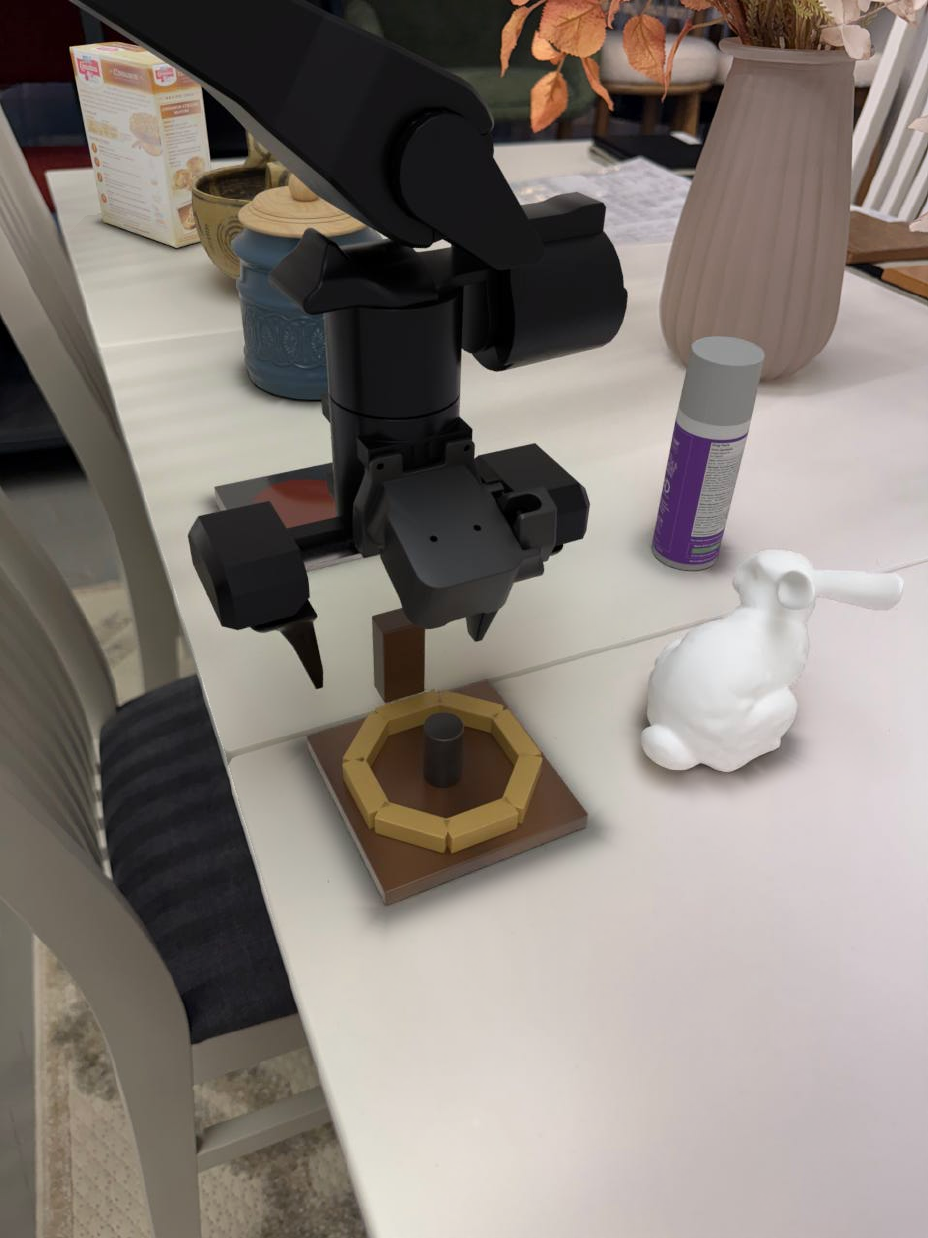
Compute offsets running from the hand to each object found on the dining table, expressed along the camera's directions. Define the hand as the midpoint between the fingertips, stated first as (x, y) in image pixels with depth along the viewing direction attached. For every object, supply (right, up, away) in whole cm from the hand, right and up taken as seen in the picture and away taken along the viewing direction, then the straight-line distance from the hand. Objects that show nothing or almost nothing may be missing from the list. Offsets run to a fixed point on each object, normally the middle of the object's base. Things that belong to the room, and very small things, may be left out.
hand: (398, 659), depth 51 cm
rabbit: (+19, -4, +4) cm, 19 cm away
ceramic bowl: (-17, +39, +55) cm, 70 cm away
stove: (-8, +9, +18) cm, 22 cm away
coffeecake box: (-35, +51, +69) cm, 92 cm away
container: (+19, +7, +17) cm, 26 cm away
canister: (-10, +25, +38) cm, 46 cm away
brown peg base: (+2, -7, -1) cm, 7 cm away
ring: (+2, -6, -2) cm, 7 cm away
